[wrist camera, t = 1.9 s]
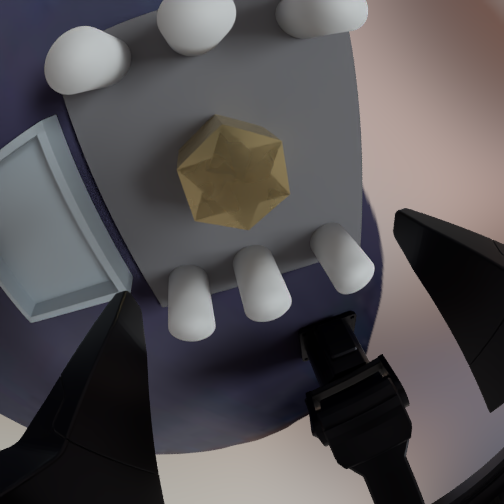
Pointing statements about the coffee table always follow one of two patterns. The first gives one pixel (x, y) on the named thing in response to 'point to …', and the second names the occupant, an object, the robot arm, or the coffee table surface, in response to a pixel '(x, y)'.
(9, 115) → the coffee table surface
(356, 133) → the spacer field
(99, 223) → the nut tray
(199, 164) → the tan faceted polyhedron
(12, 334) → the coffee table surface
